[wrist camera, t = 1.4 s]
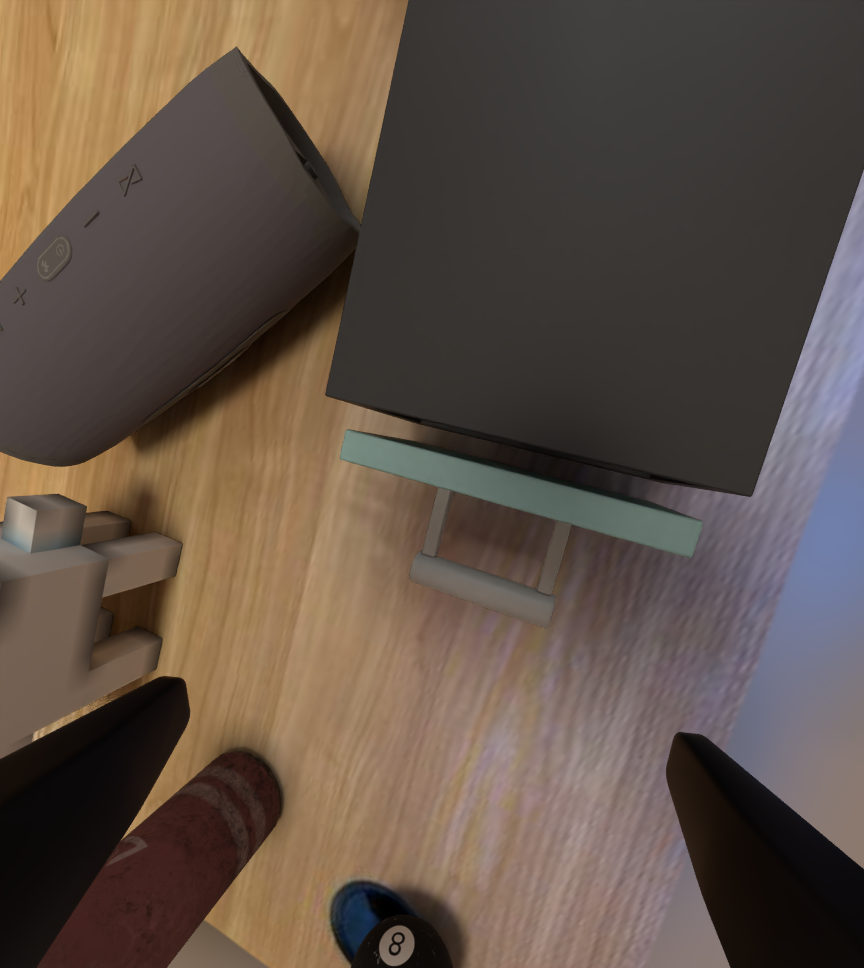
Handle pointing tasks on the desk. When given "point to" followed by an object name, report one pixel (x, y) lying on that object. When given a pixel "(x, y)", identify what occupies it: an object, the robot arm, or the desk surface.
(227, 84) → the bluetooth speaker
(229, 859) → the can
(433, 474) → the mint green drawer
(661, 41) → the drawer box
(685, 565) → the desk surface
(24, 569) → the toy llama
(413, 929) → the billiard ball
